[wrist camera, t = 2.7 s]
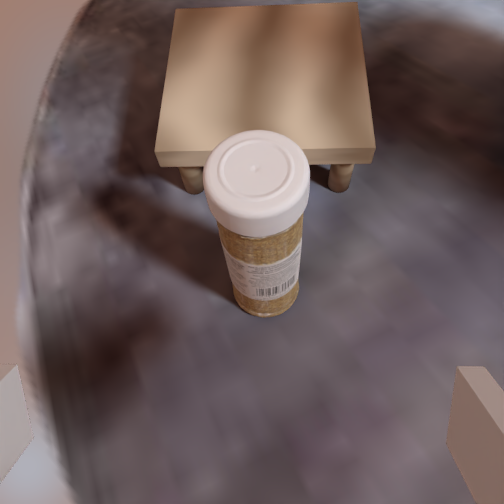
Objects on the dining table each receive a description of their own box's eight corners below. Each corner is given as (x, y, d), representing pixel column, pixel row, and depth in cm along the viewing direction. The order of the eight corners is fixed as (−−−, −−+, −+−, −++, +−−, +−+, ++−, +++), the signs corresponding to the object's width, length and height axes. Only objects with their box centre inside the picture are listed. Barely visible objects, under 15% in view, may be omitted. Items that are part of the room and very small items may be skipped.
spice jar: (294, 255, 31) (303, 120, 19) (302, 317, 29) (318, 209, 17) (230, 261, 31) (199, 130, 19) (233, 323, 29) (202, 220, 17)
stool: (346, 66, 39) (357, 2, 34) (360, 200, 33) (375, 147, 28) (189, 70, 40) (175, 8, 35) (174, 202, 34) (154, 151, 28)
